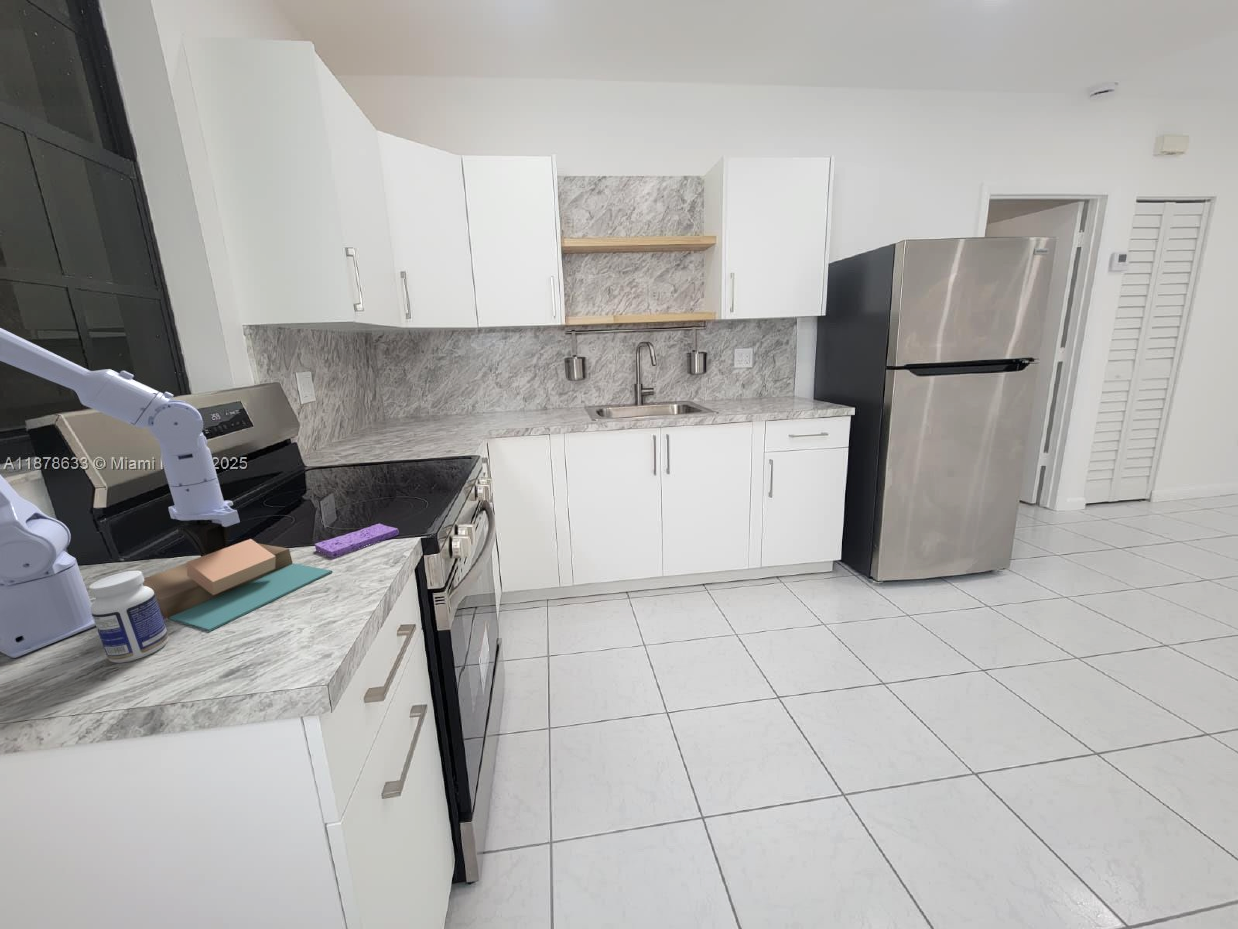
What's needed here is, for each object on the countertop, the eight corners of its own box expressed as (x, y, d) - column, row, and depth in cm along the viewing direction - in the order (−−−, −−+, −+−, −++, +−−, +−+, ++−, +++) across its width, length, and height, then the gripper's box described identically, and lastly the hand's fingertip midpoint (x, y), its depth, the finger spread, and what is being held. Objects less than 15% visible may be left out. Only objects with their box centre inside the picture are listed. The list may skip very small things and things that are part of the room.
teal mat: (209, 631, 67) (209, 629, 66) (169, 619, 70) (169, 617, 70) (332, 572, 82) (332, 570, 82) (294, 565, 86) (293, 563, 86)
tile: (213, 595, 73) (213, 582, 72) (187, 575, 75) (186, 562, 74) (275, 568, 81) (275, 556, 80) (250, 551, 83) (250, 538, 82)
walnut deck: (168, 618, 71) (162, 599, 70) (124, 605, 75) (118, 587, 75) (292, 564, 86) (289, 548, 86) (250, 556, 91) (246, 541, 91)
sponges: (316, 553, 92) (314, 543, 92) (381, 530, 102) (380, 521, 102) (333, 561, 88) (331, 551, 88) (400, 536, 98) (398, 527, 97)
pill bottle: (167, 632, 67) (145, 564, 65) (172, 648, 63) (149, 576, 61) (108, 652, 63) (82, 580, 61) (109, 671, 59) (81, 595, 57)
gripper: (251, 476, 76) (271, 558, 80) (196, 472, 82) (217, 548, 86) (198, 490, 70) (223, 578, 73) (143, 484, 76) (168, 566, 79)
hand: (217, 563), depth 79 cm, fingers closed
